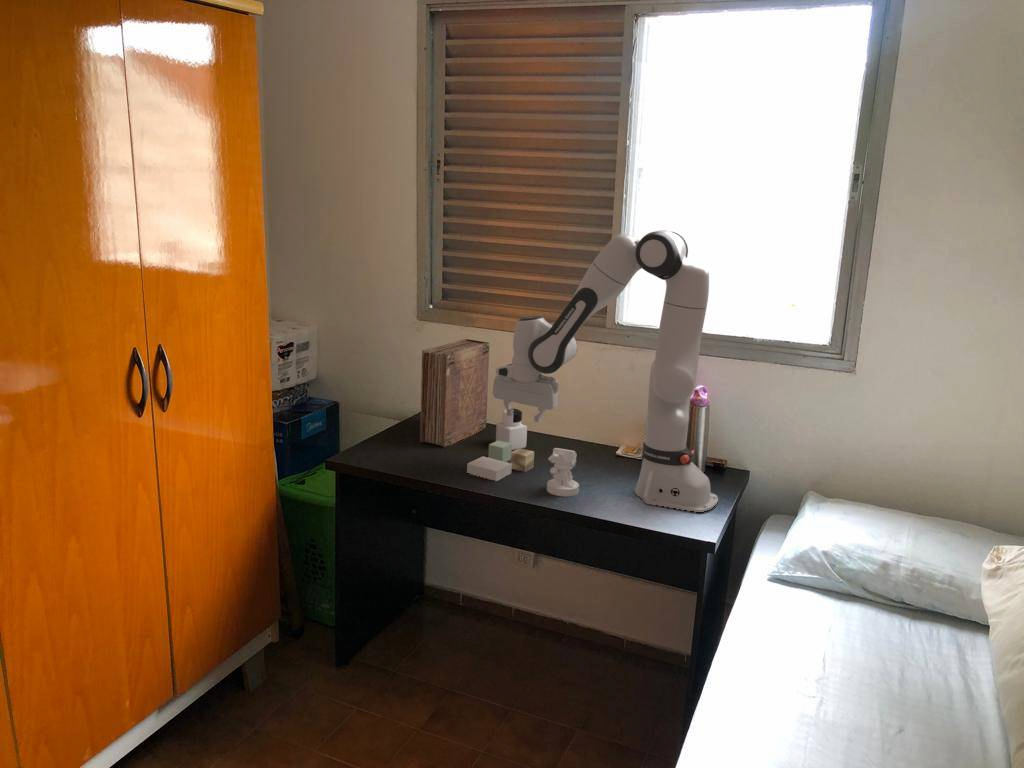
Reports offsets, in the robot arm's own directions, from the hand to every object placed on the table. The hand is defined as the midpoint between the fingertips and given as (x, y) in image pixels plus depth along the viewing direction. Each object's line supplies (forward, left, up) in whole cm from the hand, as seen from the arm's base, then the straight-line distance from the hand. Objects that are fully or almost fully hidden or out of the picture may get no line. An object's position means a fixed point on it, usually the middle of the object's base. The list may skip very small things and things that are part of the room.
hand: (523, 418), depth 236 cm
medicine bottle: (+13, -15, -15) cm, 25 cm away
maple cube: (0, 0, -15) cm, 15 cm away
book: (+33, -12, -15) cm, 38 cm away
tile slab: (+5, +10, -15) cm, 19 cm away
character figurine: (-18, +8, -15) cm, 25 cm away
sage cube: (+9, -2, -15) cm, 18 cm away
